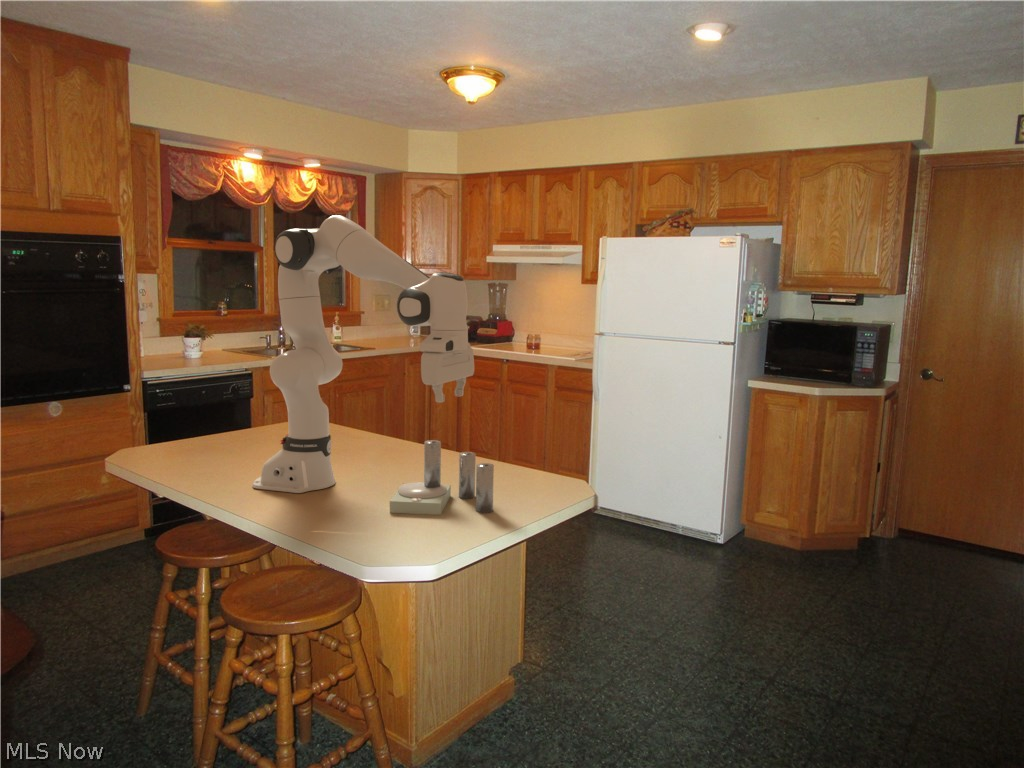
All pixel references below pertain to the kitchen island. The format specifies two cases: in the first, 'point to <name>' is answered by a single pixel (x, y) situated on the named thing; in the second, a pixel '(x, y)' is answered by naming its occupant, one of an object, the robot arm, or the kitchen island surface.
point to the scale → (420, 499)
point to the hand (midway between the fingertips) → (449, 399)
